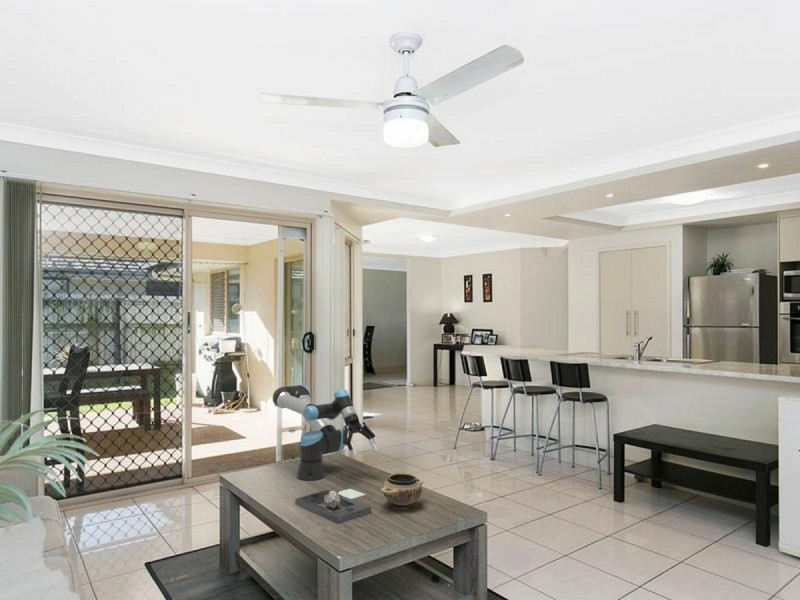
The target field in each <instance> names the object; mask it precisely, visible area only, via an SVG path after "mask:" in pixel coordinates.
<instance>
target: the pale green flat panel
mask: <svg viewBox="0 0 800 600" xmlns="http://www.w3.org/2000/svg"><path fill="white" fill-rule="evenodd" d="M337 492H338V491H337ZM338 494H339V495H342V496H344V497H347V498H349V499H352V500H355V499H358V498H362V497H365V496H366V493H363V492H360V491H357V490H354V489H352V488H348V489H344V490H341V491H339V492H338Z"/></svg>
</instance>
